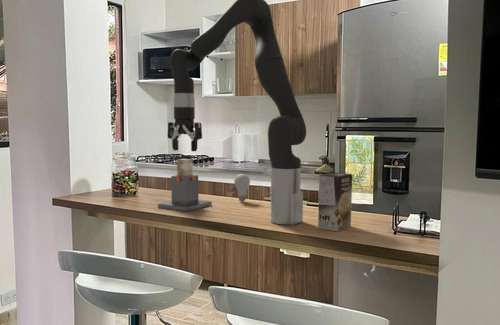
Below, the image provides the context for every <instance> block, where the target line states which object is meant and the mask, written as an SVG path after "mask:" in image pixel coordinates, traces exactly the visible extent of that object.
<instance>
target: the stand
mask: <svg viewBox="0 0 500 325" xmlns="http://www.w3.org/2000/svg"><path fill="white" fill-rule="evenodd" d="M170 177H171V178H170V180H171V182H170V183H171V184H170V186H171V188H170V189H171V200H167V201H163V202H159V203H157V208H158V209H164V210H165V209H166V210H173V211H180V212H181V211H182V212H187V213H189V212H193V211H195V210H196V211H197V210H200V209H203V208H207V207H211V206H212V205H213V202H212V201H211V200H205V199H204V200H203V199H199V175H198V174H197V175H196V174H193V176H188V177H181V176H177V174H175V175H171V176H170Z"/></svg>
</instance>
